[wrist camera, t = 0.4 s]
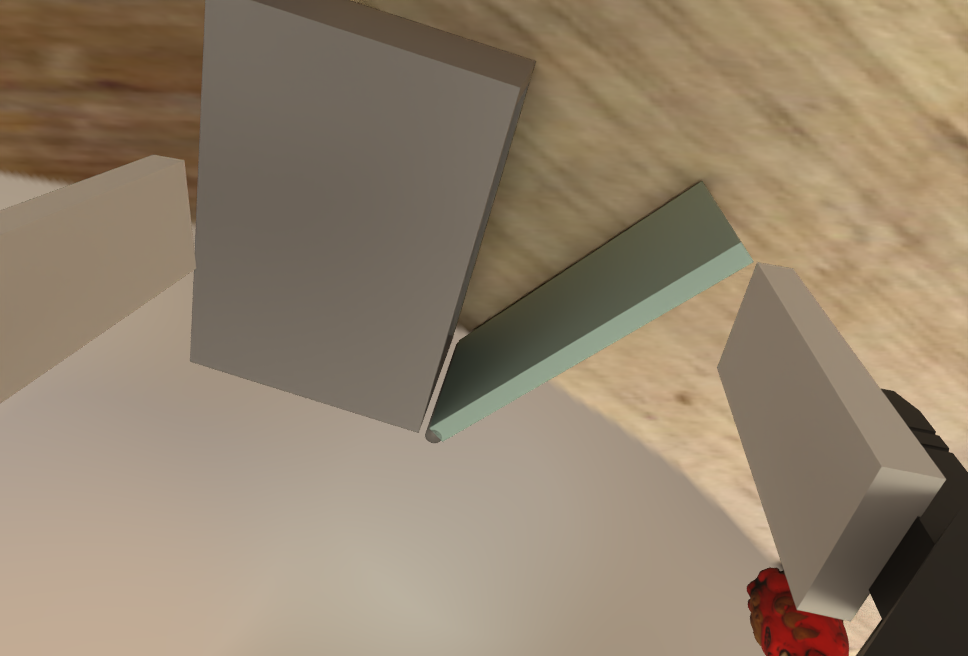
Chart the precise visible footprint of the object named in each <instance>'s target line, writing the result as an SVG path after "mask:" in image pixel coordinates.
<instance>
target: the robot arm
mask: <svg viewBox="0 0 968 656" xmlns="http://www.w3.org/2000/svg"><path fill="white" fill-rule="evenodd" d="M195 269H196V261H195V252H194V243H193V234H192V225H191V216H190V207H189V198H188V189H187V180H186V171H185V162H184V160H180V159H175V158H169V157H164V156H158V155H151V156H148V157H146V158H143V159H140V160H137V161H135V162H132V163H129V164H126V165H124V166H121V167H118V168H115V169H113V170H110V171H107V172H104V173H102V174H99V175H96V176H93V177H91V178H88V179H85V180H82V181H80V182H77V183H74V184H71V185H69V186H66V187H63V188H61V189H58V190H55V191H52V192H50V193H47V194H44V195H41V196H39V197H36V198H33V199H30V200H28V201H25V202H22V203H20V204H17V205H14V206H11V207H9V208H6V209H3V210H1V211H0V403H2V402H3V401H5V400H6V399H8V398H9V397H10V396H12V395H13V394H15V393H16V392H18V391H19V390H21V389H22V388H23V387H25V386H26V385H28V384H29V383H31V382H32V381H34V380H35V379H37V378H38V377H40V376H41V375H42V374H44V373H45V372H47V371H48V370H49V369H51V368H53V367H54V366H55V365H57V364H58V363H60V362H61V361H63V360H64V359H65V358H67V357H68V356H70V355H71V354H73V353H74V352H76V351H77V350H79V349H80V348H82V347H83V346H84V345H86V344H87V343H89V342H90V341H92V340H93V339H94V338H96V337H97V336H99V335H100V334H102V333H103V332H105V331H106V330H108V329H109V328H110V327H112V326H113V325H115V324H116V323H118V322H119V321H121V320H122V319H123V318H125V317H126V316H128V315H129V314H131V313H132V312H134V311H135V310H137V309H138V308H140V307H141V306H142V305H144V304H145V303H147V302H148V301H150V300H151V299H152V298H154V297H155V296H157V295H158V294H160V293H161V292H163V291H164V290H166V289H167V288H168V287H170V286H171V285H173V284H174V283H176V282H177V281H178V280H180V279H182V278H183V277H184V276H186V275H187V274H189V273H190V272H192V271H193V270H195ZM717 369H718V372H719V375H720V378H721V381H722V384H723V387H724V390H725V393H726V396H727V399H728V403H729V406H730V409H731V412H732V415H733V418H734V421H735V424H736V427H737V430H738V433H739V436H740V439H741V442H742V445H743V448H744V451H745V454H746V457H747V460H748V463H749V466H750V469H751V472H752V475H753V478H754V481H755V484H756V487H757V490H758V493H759V496H760V500H761V503H762V506H763V509H764V512H765V515H766V518H767V521H768V524H769V527H770V530H771V533H772V536H773V539H774V542H775V545H776V548H777V551H778V554H779V557H780V560H781V563H782V566H783V569H784V572H785V575H786V578H787V581H788V584H789V587H790V590H791V593H792V596H793V600H794V603H795V606H796V609H797V610H801V611H805V612H810V613H815V614H819V615H824V616H828V617H833V618H838V619H842V620H847V621H852V619H853V618H854V616H855V615H856V613H857V612H858V610H859V609H860V607H861V606H862V604H863V603H864V601H865V600H866V598H867V597H868V595H869V594H871V596H872V598H873V600H874V603H875V605H876V607H877V609H878V611H879V613H880V616H881V618H882V620H881V621H880V622H879V624H878V625H877V627H876V628H875V629H874V631H873V632H872V634H871V635H870V637H869V638H868V639H867V641H866V642H865V644H864V645H863V646H862V648H861V649H860V651H859V652H858V654H857V655H856V656H968V472H967V471H966V469H965V468H964V467H963V466H962V464H961V463H960V462H959V460H958V459H957V458H956V457H955V455H954V454H953V453H950V452H949V448H948V446H947V445H946V444H945V443H944V441H943V440H942V439H941V437H940V436H938V435H935V433H936V431H935V430H934V429H933V427H932V426H931V425H930V423H929V422H928V421H927V420H926V418H925V417H924V416H923V414H922V413H921V412H920V411H919V410H918V409H917V408H915V407H914V406H913V405H911V404H910V403H909V402H907V401H906V400H905V399H903V398H902V397H901V396H900V395H898V394H897V393H896V392H894V391H891V390H885V389H880V387H879V386H878V385H877V383H876V382H875V381H874V379H873V378H872V376H871V375H870V374H869V372H868V371H867V370H866V368H865V367H864V365H863V364H862V363H861V361H860V360H859V359H858V357H857V356H856V354H855V353H854V352H853V350H852V349H851V348H850V346H849V345H848V343H847V342H846V341H845V339H844V338H843V337H842V335H841V334H840V332H839V331H838V330H837V328H836V327H835V325H834V324H833V323H832V321H831V320H830V319H829V317H828V316H827V314H826V313H825V312H824V310H823V309H822V308H821V306H820V305H819V303H818V302H817V301H816V299H815V298H814V297H813V295H812V294H811V292H810V291H809V290H808V288H807V287H806V286H805V284H804V283H803V281H802V280H801V279H800V277H799V276H798V275H797V273H796V272H795V270H794V269H793V268H788V267H782V266H776V265H771V264H765V263H759V262H757V264H756V266H755V269H754V272H753V274H752V277H751V280H750V282H749V285H748V288H747V290H746V293H745V295H744V298H743V301H742V303H741V306H740V309H739V311H738V314H737V317H736V319H735V322H734V324H733V327H732V330H731V332H730V335H729V338H728V340H727V343H726V346H725V348H724V351H723V354H722V356H721V359H720V361H719V364H718V367H717Z"/></svg>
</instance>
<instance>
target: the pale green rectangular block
mask: <svg viewBox="0 0 968 656" xmlns="http://www.w3.org/2000/svg"><path fill="white" fill-rule="evenodd" d="M753 262H754V261H753V260H752V258H751V256H750V255H749V253H748V252H747V250H746V249H745V247H744V246H743V244H742V242H741V241H740V239H739V238H738V236H737V235H736V233H735V231H734V230H733V228H732V227H731V225H730V224H729V222H728V220H727V219H726V217H725V216H724V214H723V213H722V211H721V210H720V208H719V206H718V205H717V203H716V202H715V200H714V199H713V197H712V195H711V194H710V192H709V191H708V189H707V188H706V186H705V185H704V183H703V182H702V181H701V182H700V183H698V184H697V185H695V186H694V187H692V188H690V189H689V190H687V191H686V192H684V193H683V194H681V195H680V196H678V197H677V198H675V199H674V200H672V201H671V202H669V203H668V204H666V205H665V206H663V207H662V208H660V209H658V210H657V211H655V212H654V213H652V214H651V215H649V216H648V217H646V218H645V219H643V220H642V221H640V222H639V223H637V224H636V225H634V226H633V227H631V228H630V229H628V230H626V231H625V232H623V233H622V234H620V235H619V236H617V237H616V238H614V239H613V240H611V241H610V242H608V243H607V244H605V245H604V246H602V247H601V248H599V249H598V250H596V251H595V252H593V253H591V254H590V255H588V256H587V257H585V258H584V259H582V260H581V261H579V262H578V263H576V264H575V265H573V266H572V267H570V268H569V269H567V270H566V271H564V272H563V273H561V274H559V275H558V276H556V277H555V278H553V279H552V280H550V281H549V282H547V283H546V284H544V285H543V286H541V287H540V288H538V289H537V290H535V291H534V292H532V293H531V294H529V295H527V296H526V297H524V298H523V299H521V300H520V301H518V302H517V303H515V304H514V305H512V306H511V307H509V308H508V309H506V310H505V311H503V312H502V313H500V314H499V315H497V316H496V317H494V318H492V319H491V320H489V321H488V322H486V323H485V324H483V325H482V326H480V327H479V328H477V329H476V330H474V331H473V332H471V333H470V334H468V335H467V336H465V337H464V338H462V339H460V340H459V342H458V343H457V344H456V347H455V350H454V353H453V355H452V359H451V361H450V364H449V367H448V370H447V373H446V376H445V379H444V382H443V384H442V387H441V391H440V393H439V396H438V399H437V402H436V405H435V408H434V411H433V414H432V416H431V419H430V422H429V425H428V428H427V431H426V434H425V437H426V439H427V440H428V441H429V442H431V443H438V442H440V441H445V440H446V439H448V438H450V437H452V436H453V435H455V434H457V433H458V432H460V431H462V430H464V429H465V428H467V427H469V426H471V425H472V424H474V423H476V422H478V421H479V420H481V419H483V418H484V417H486V416H488V415H490V414H491V413H493V412H494V411H496V410H498V409H500V408H502V407H503V406H505V405H507V404H508V403H510V402H512V401H514V400H515V399H517V398H519V397H521V396H522V395H524V394H526V393H528V392H529V391H531V390H533V389H534V388H536V387H538V386H540V385H541V384H543V383H545V382H547V381H548V380H550V379H552V378H554V377H555V376H557V375H559V374H561V373H562V372H564V371H566V370H567V369H569V368H571V367H573V366H574V365H576V364H578V363H580V362H581V361H583V360H585V359H586V358H588V357H590V356H592V355H593V354H595V353H597V352H599V351H600V350H602V349H604V348H606V347H607V346H609V345H611V344H612V343H614V342H616V341H618V340H619V339H621V338H623V337H625V336H626V335H628V334H630V333H631V332H633V331H635V330H637V329H638V328H640V327H642V326H644V325H645V324H647V323H649V322H650V321H652V320H654V319H656V318H657V317H659V316H661V315H663V314H664V313H666V312H668V311H670V310H671V309H673V308H675V307H676V306H678V305H680V304H682V303H683V302H685V301H687V300H689V299H690V298H692V297H694V296H695V295H697V294H699V293H701V292H702V291H704V290H706V289H708V288H709V287H711V286H713V285H714V284H716V283H718V282H720V281H721V280H723V279H725V278H727V277H728V276H730V275H732V274H734V273H735V272H737V271H739V270H740V269H742V268H744V267H746V266H747V265H749V264H751V263H753Z"/></svg>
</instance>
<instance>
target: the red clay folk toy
mask: <svg viewBox="0 0 968 656" xmlns="http://www.w3.org/2000/svg"><path fill="white" fill-rule="evenodd" d="M747 592H748V594H749V596H750V599H749V600H748V608H749V610H750V611H751V615H750V622H751V626H752V628H753V631H754V632H753V633H754V636H755V639H756V641H757V642H758V643H759V645H760V646H761V647H762V650H763V652H764V653H765V655H766V656H849V642H848V637H847V633H846V630H845V627H844V625H843V620H842V619H838V618H833V617H828V616H824V615H819V614H815V613H810V612H805V611H801V610H797V609H796V606H795V603H794V600H793V596H792V593H791V590H790V587H789V584H788V581H787V578H786V575H785V572H784V570H783V571H781V572H780V571H779V569H778V568H767V569H765V570H762V571H761V572H760V573H759V575H758V577H757V578H756V579H755V580H754V581H752V582H751V583H750V584H748V586H747Z"/></svg>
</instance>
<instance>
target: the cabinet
mask: <svg viewBox="0 0 968 656" xmlns="http://www.w3.org/2000/svg"><path fill="white" fill-rule="evenodd" d="M535 63H536V61H534V60H531V59H528V58H524V57H521V56H518V55H515V54H512V53H509V52H506V51H503V50H500V49H497V48H494V47H491V46H488V45H485V44H482V43H478V42H475V41H472V40H469V39H466V38H463V37H460V36H457V35H454V34H451V33H448V32H445V31H442V30H439V29H435V28H432V27H429V26H426V25H423V24H420V23H417V22H414V21H411V20H408V19H405V18H402V17H399V16H396V15H393V14H389V13H386V12H383V11H380V10H377V9H374V8H371V7H368V6H365V5H362V4H359V3H356V2H353V1H350V0H205V23H204V47H203V70H202V94H201V117H200V141H199V164H198V188H197V211H196V235H195V261H196V269H195V270H194V282H193V306H192V329H191V352H190V361H191V362H193V363H197V364H199V365H203V366H206V367H209V368H212V369H215V370H219V371H222V372H225V373H228V374H231V375H235V376H238V377H241V378H244V379H247V380H251V381H254V382H257V383H260V384H263V385H267V386H270V387H273V388H276V389H279V390H283V391H286V392H289V393H293V394H295V395H299V396H302V397H305V398H309V399H311V400H315V401H318V402H321V403H324V404H328V405H331V406H334V407H337V408H340V409H343V410H347V411H350V412H353V413H356V414H360V415H363V416H366V417H369V418H372V419H376V420H379V421H382V422H385V423H388V424H391V425H395V426H398V427H401V428H404V429H407V430H411V431H414V432H417V433H419V430H420V427H421V425H422V422H423V419H424V416H425V413H426V411H427V408H428V405H429V402H430V400H431V397H432V394H433V392H434V389H435V386H436V383H437V380H438V378H439V375H440V372H441V369H442V367H443V364H444V361H445V358H446V356H447V353H448V349H449V347H450V344H451V341H452V339H453V335H454V332H455V329H456V325H457V322H458V319H459V315H460V312H461V309H462V305H463V302H464V299H465V295H466V292H467V289H468V285H469V282H470V279H471V276H472V272H473V269H474V266H475V262H476V259H477V256H478V252H479V249H480V246H481V242H482V239H483V236H484V232H485V229H486V226H487V222H488V219H489V216H490V212H491V209H492V206H493V202H494V199H495V196H496V192H497V189H498V186H499V183H500V179H501V176H502V173H503V169H504V166H505V163H506V159H507V156H508V153H509V149H510V146H511V143H512V139H513V136H514V133H515V129H516V126H517V123H518V119H519V116H520V113H521V109H522V106H523V103H524V99H525V96H526V93H527V90H528V86H529V83H530V80H531V76H532V73H533V70H534V66H535Z"/></svg>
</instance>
